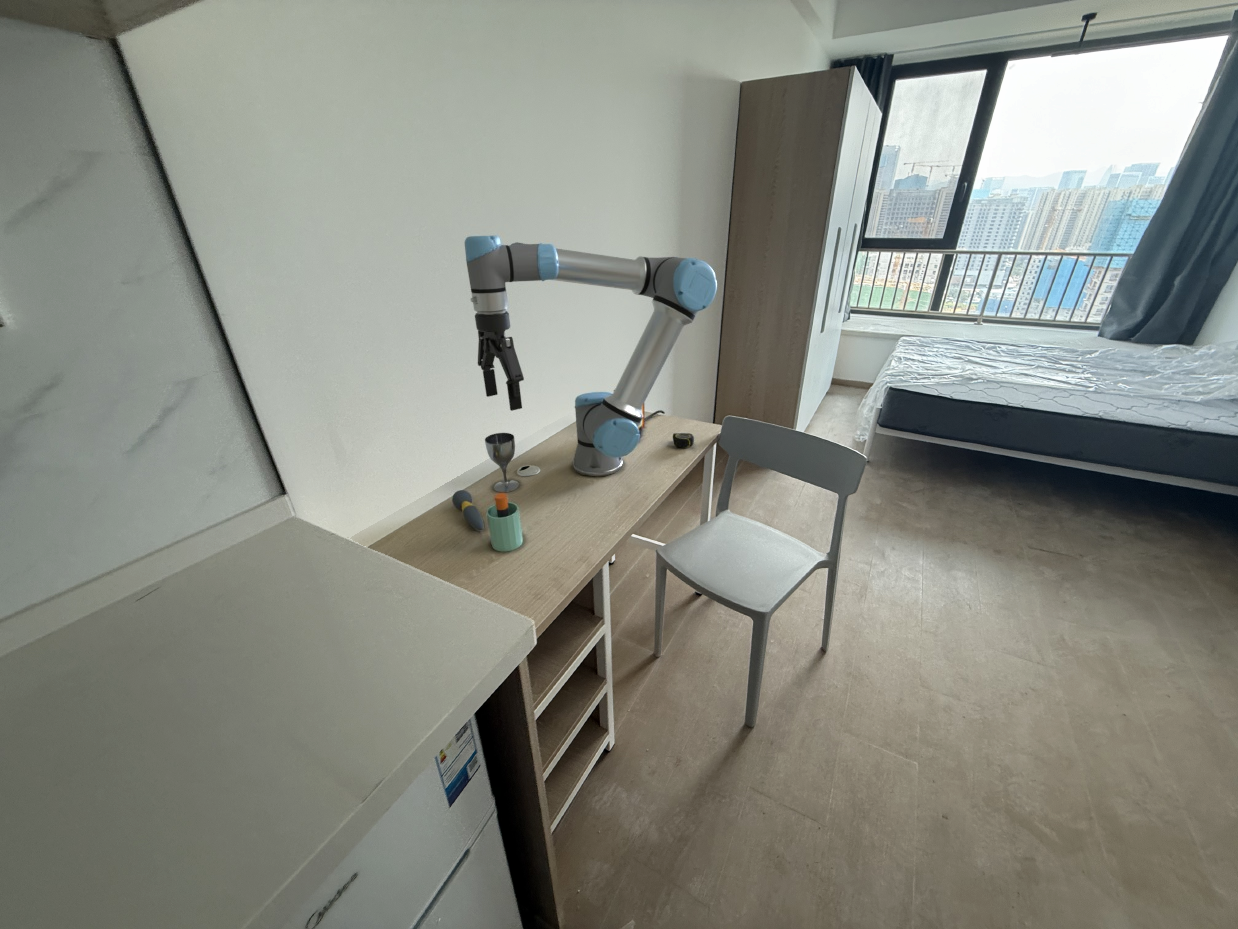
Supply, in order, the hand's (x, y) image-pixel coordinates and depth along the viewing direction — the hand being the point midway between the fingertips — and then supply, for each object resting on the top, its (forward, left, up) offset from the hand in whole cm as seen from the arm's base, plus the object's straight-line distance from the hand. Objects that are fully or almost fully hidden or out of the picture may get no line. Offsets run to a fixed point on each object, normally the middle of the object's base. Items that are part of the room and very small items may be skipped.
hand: (503, 402), depth 118 cm
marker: (+10, +15, -28) cm, 33 cm away
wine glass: (-2, -11, -29) cm, 31 cm away
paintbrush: (+12, -2, -29) cm, 31 cm away
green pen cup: (+10, +15, -29) cm, 34 cm away
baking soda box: (-56, -22, -29) cm, 67 cm away
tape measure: (-61, 0, -29) cm, 67 cm away
